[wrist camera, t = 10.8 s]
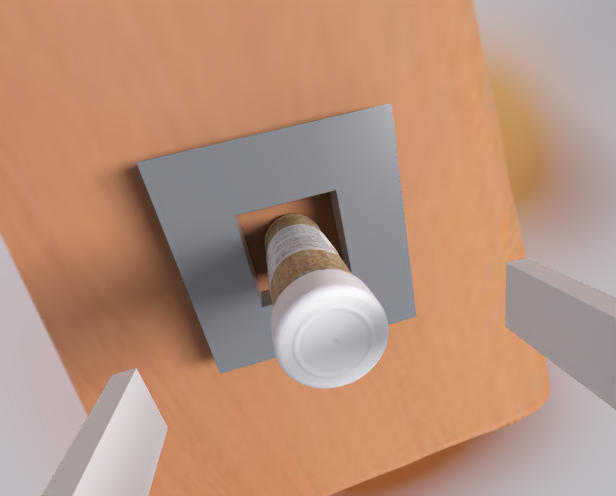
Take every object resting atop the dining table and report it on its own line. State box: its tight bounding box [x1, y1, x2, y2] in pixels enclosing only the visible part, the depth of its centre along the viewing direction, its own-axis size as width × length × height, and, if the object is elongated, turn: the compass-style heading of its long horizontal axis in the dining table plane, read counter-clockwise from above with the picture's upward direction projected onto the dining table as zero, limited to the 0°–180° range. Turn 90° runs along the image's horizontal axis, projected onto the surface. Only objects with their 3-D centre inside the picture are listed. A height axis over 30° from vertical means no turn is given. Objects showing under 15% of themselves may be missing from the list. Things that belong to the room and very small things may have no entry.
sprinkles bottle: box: [264, 214, 389, 388], centre depth 18 cm, size 5×5×13 cm
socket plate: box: [137, 103, 416, 374], centre depth 23 cm, size 16×16×2 cm
